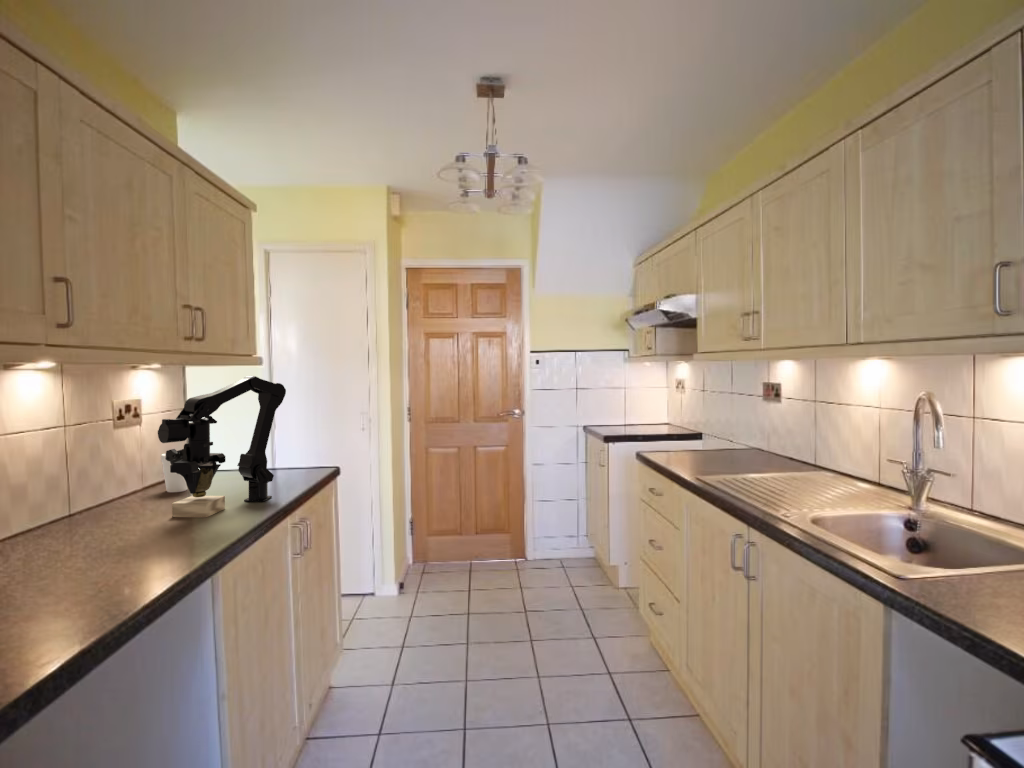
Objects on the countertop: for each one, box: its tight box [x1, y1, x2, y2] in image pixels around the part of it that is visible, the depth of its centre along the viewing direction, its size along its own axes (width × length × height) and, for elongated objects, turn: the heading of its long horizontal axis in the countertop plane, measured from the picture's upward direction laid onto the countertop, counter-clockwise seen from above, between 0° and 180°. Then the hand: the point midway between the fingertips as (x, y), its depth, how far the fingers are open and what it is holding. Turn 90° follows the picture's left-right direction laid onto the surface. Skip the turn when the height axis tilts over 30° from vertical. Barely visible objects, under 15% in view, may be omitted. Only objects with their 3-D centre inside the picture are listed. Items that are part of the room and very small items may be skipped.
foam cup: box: [160, 452, 189, 493], centre depth 193 cm, size 10×9×13 cm
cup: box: [186, 468, 213, 497], centre depth 163 cm, size 8×7×8 cm
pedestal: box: [171, 495, 226, 518], centre depth 163 cm, size 10×10×4 cm
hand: (199, 491), depth 163 cm, fingers closed on cup, 6 cm apart
